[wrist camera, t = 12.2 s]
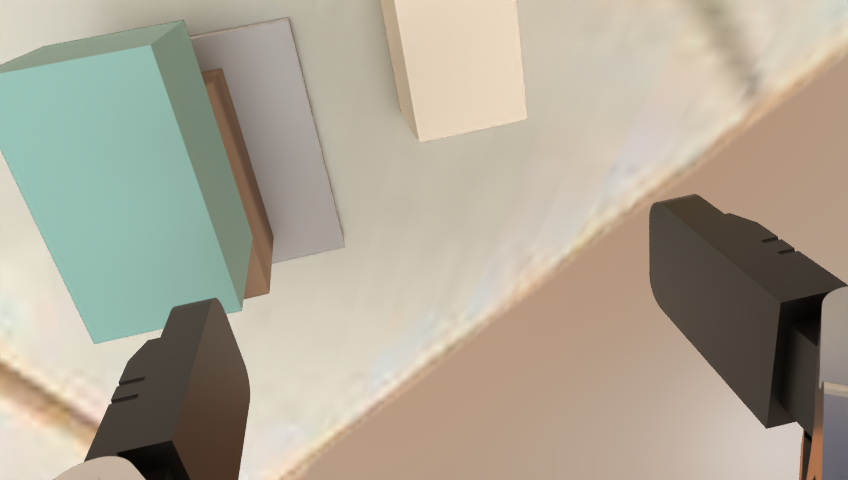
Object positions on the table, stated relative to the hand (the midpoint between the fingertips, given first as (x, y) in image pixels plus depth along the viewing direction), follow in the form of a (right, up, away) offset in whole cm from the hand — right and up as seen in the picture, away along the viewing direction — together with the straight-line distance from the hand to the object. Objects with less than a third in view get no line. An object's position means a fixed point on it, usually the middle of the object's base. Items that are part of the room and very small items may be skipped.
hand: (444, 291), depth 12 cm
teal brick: (-11, +4, +13) cm, 18 cm away
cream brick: (0, +12, +20) cm, 24 cm away
